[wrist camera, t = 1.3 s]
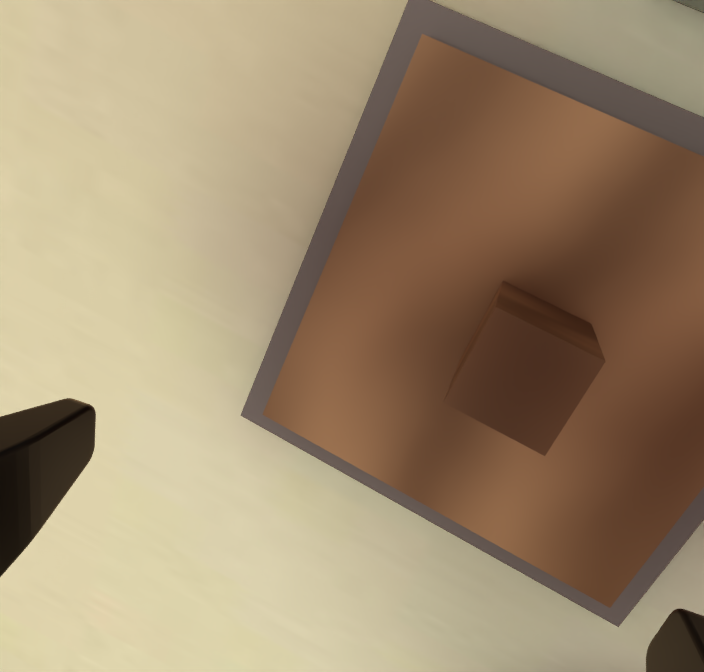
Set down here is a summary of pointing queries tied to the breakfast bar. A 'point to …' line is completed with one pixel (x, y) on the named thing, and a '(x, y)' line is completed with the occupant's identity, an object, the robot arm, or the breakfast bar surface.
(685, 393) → the walnut lid
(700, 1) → the teal bowl
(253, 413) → the rubber mat
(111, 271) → the breakfast bar surface
